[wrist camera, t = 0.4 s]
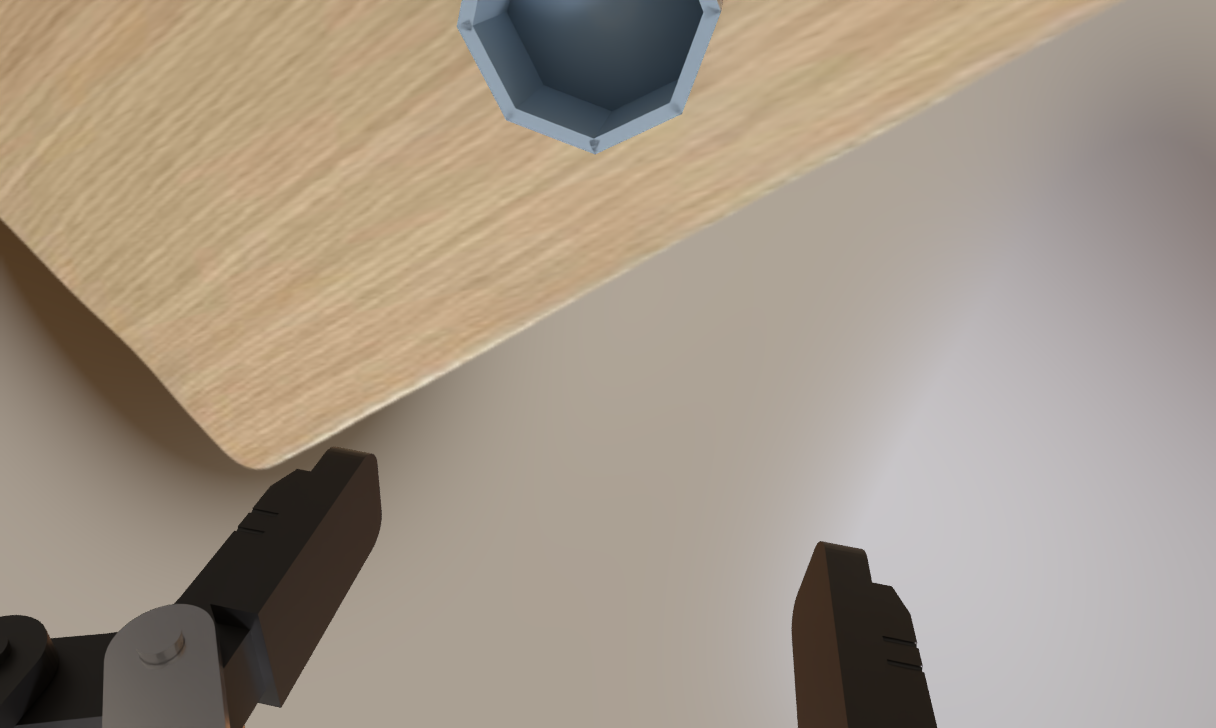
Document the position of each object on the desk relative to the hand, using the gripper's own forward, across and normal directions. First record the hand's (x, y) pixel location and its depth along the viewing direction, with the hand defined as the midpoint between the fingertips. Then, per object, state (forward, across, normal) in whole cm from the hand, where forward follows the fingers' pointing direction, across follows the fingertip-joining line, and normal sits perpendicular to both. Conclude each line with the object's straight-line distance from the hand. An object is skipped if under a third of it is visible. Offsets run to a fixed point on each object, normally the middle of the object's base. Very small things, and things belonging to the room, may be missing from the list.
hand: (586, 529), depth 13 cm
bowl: (+27, +4, -5) cm, 28 cm away
